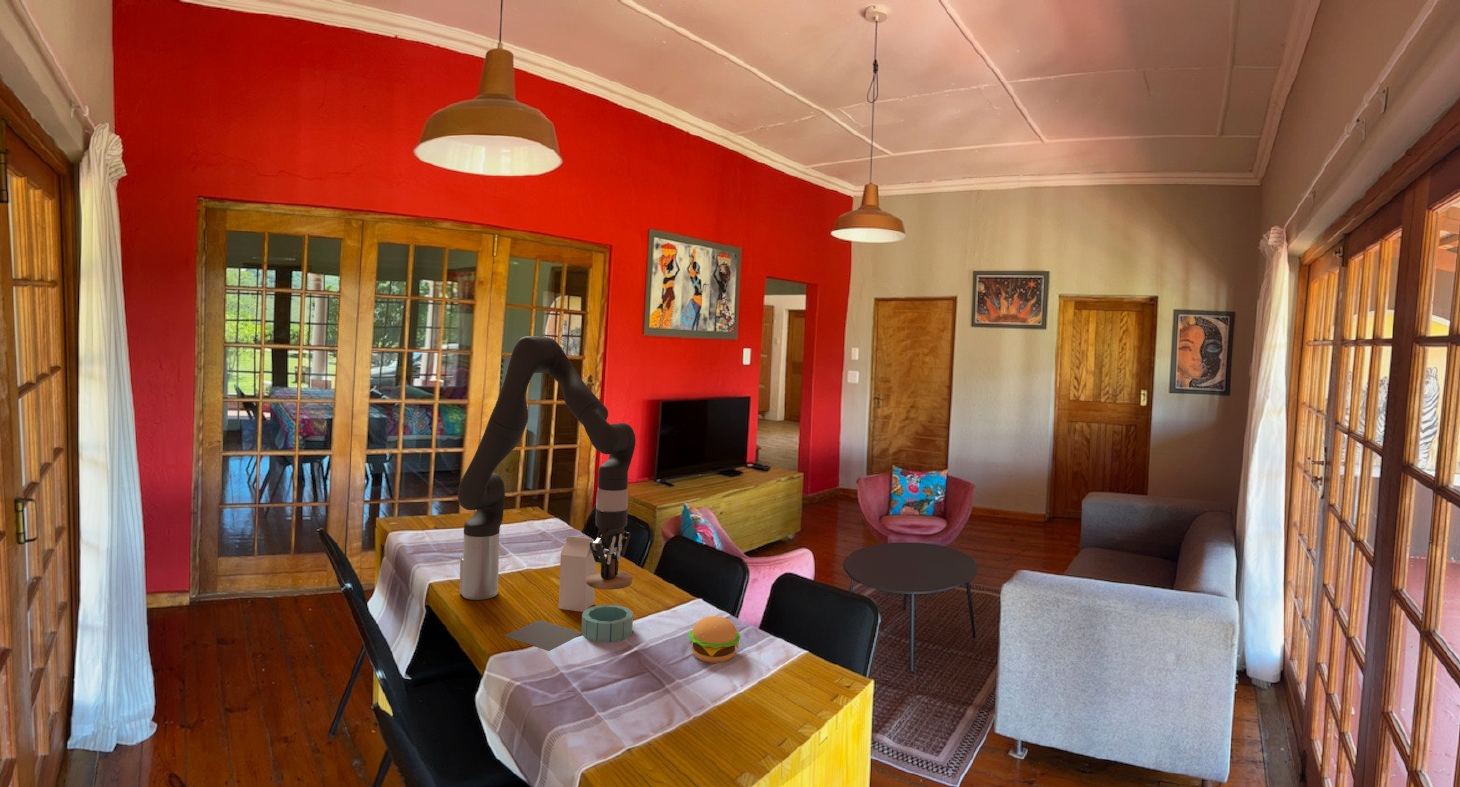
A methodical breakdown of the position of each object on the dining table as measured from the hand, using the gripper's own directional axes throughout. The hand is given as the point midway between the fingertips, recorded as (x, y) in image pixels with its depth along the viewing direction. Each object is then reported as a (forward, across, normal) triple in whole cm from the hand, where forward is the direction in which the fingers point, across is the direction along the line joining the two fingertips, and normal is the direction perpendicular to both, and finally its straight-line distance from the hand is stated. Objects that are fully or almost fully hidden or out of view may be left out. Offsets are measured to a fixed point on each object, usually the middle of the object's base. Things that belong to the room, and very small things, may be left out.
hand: (609, 576), depth 176 cm
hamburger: (+15, -5, +27) cm, 31 cm away
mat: (+14, +10, -11) cm, 21 cm away
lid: (+1, 0, 0) cm, 1 cm away
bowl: (+14, 0, 0) cm, 14 cm away
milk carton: (+14, -9, -17) cm, 24 cm away
